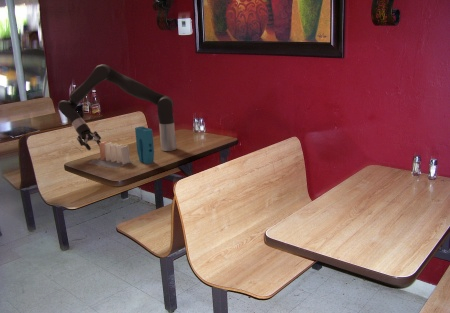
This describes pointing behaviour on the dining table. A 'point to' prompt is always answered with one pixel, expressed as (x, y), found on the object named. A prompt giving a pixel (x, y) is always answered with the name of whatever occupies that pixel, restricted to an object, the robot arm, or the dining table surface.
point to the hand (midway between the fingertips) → (95, 147)
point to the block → (145, 144)
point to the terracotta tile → (102, 150)
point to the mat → (108, 163)
